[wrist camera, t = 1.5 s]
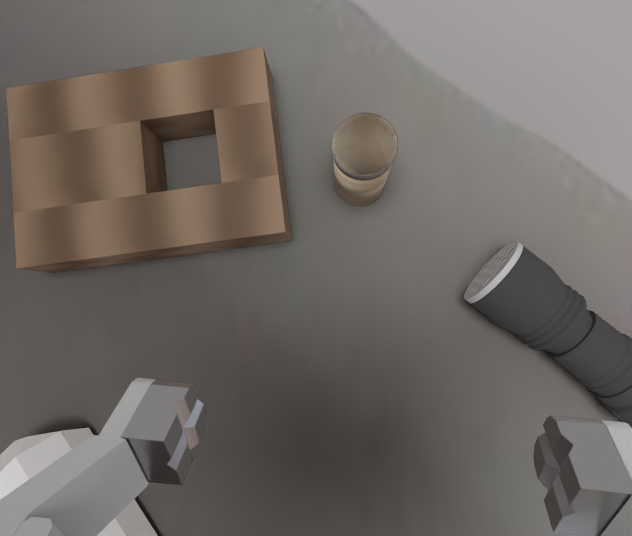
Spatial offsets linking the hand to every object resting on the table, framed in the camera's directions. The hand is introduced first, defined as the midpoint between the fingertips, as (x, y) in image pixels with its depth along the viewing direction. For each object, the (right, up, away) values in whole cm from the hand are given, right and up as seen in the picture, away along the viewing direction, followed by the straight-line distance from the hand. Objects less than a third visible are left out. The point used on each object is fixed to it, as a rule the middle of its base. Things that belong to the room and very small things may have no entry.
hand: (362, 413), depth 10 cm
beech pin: (+2, +10, +24) cm, 26 cm away
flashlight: (+17, -2, +23) cm, 28 cm away
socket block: (-14, +11, +25) cm, 31 cm away
